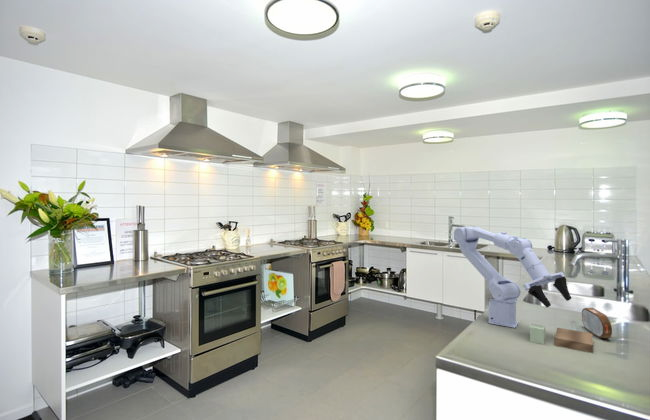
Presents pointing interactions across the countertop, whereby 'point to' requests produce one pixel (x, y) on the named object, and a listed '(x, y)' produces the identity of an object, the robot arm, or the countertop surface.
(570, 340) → the walnut block
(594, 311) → the tin
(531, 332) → the sage cube
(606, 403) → the countertop surface
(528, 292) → the robot arm
